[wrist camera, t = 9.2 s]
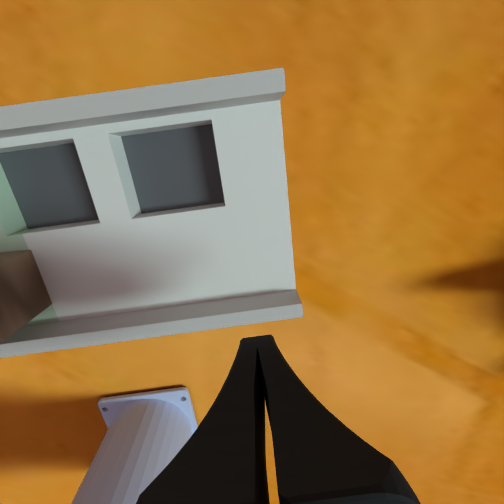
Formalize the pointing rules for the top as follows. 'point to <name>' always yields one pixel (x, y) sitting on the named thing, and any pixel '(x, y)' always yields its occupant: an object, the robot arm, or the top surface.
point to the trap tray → (150, 210)
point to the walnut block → (20, 291)
